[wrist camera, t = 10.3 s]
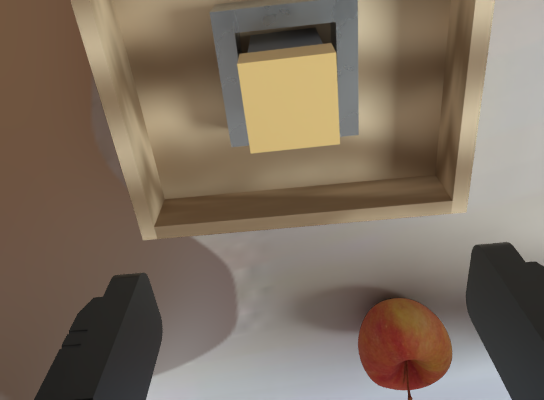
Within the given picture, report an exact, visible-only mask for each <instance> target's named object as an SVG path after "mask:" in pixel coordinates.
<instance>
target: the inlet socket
mask: <svg viewBox="0 0 544 400" xmlns="http://www.w3.org/2000/svg"><path fill="white" fill-rule="evenodd" d="M209 13H210V19H211V25H212V31H213V37H214V44H215V50H216V56H217V62H218V68H219V74H220V81H221V87H222V93H223V99H224V105H225V111H226V118H227V124H228V130H229V136H230V142H231V147H239V146H249V139H248V133H247V126H246V120H245V113H244V107H243V100H242V93H241V87H240V80H239V74H238V67H237V62H238V58H239V54H242V50H241V42H240V35H239V32H249V31H258V30H267V29H276V28H285V27H295V26H304V25H313V24H322V23H330V31H331V43H332V45H333V47H334V49H335V51H336V60H337V83H338V107H339V131H340V137H344V136H354V135H359V100H358V0H250V1H241V2H232V3H223V4H215V5H214V7H213V8H212V10H211V11H210V12H209Z"/></svg>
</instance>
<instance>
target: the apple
mask: <svg viewBox="0 0 544 400" xmlns="http://www.w3.org/2000/svg"><path fill="white" fill-rule="evenodd" d="M358 350H359V355H360V359H361V362H362V365H363V367H364V369H365V371H366V373H367V374H368V376H369V377H370V378H371V379H372V381H374V382H375V383H376V384H378V385H379V386H382V387H385V388H390V389H395V390H408V400H412V397H411V395H410V390H414V389H419V388H423V387H426V386H429V385H431V384H433V383H435V382H436V381H438V380H439V379H440V378H442V377H443V376H444V375H445V373H446V372H447V370H448V369H449V367H450V364H451V361H452V346H451V341H450V338H449V335H448V333H447V331H446V329H445V327H444V325H443V324H442V322H441V321H440V320H439V318H438V317H437V316H436V315H435V314H434V313H433V312H432V311H430V310H429V309H428V308H427V307H425V306H424V305H422V304H420V303H419V302H416V301H414V300H411V299H406V298H394V299H388V300H385V301H382V302H380V303H378V304H376V305H375V306H374V307H373V308H371V310H370V311H369V312H368V313H367V315H366V316H365V318H364V320H363V322H362V325H361V328H360V332H359V338H358Z"/></svg>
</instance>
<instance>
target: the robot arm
mask: <svg viewBox="0 0 544 400" xmlns="http://www.w3.org/2000/svg"><path fill="white" fill-rule="evenodd" d="M466 304H467V309H468V313H469V316H470V318H471V321H472V323H473V325H474V326H475V328H476V330H477V332H478V334H479V336H480V338H481V340H482V342H483V344H484V346H485V348H486V350H487V352H488V354H489V356H490V358H491V360H492V362H493V363H494V365H495V367H496V369H497V371H498V373H499V375H500V377H501V379H502V381H503V383H504V385H505V387H506V389H507V391H508V393H509V395H510V397H511V399H512V400H544V267H543V266H542V265H540V264H539V263H537V262H525V261H524V260H523V258H522V257H521V256H520V254H519V253H518V252H517V250H516V249H515V248H514V246H513V245H512V244H510V243H508V242H504V243H493V244H481V245H475V246H474V247H473V249H472V253H471V261H470V268H469V275H468V282H467V290H466ZM161 341H162V320H161V316H160V312H159V309H158V306H157V303H156V300H155V297H154V293H153V290H152V287H151V284H150V281H149V278H148V276H147V274H145V273H136V274H124V275H115V276H113V277H112V279H111V281H110V283H109V285H108V287H107V290H106V292H105V294H104V296H103V297H96V298H93V299H92V300H91V301H90V302H89V303H88V304H87V305H86V306H85V307H84V308H83V309H82V310H81V311H80V312H79V313H78V314H77V316H76V318H75V320H74V322H73V324H72V326H71V328H70V330H69V334H68V335H67V336H66V338H65V340H64V342H63V344H62V349H60V350H59V352H58V354H57V356H56V357H55V360H54V362H53V364H52V365H51V367H50V369H49V371H48V373H47V375H46V377H45V379H44V381H43V383H42V385H41V387H40V389H39V391H38V393H37V395H36V397H35V399H34V400H146V397H147V393H148V389H149V386H150V382H151V378H152V375H153V371H154V367H155V364H156V360H157V356H158V352H159V348H160V345H161Z"/></svg>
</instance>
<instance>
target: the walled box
mask: <svg viewBox="0 0 544 400" xmlns="http://www.w3.org/2000/svg"><path fill="white" fill-rule="evenodd" d="M70 1H71V4H72V7H73V11H74V14H75V17H76V21H77V24H78V27H79V30H80V34H81V37H82V40H83V44H84V47H85V50H86V54H87V57H88V60H89V63H90V67H91V70H92V73H93V77H94V80H95V83H96V87H97V90H98V93H99V96H100V100H101V103H102V106H103V110H104V113H105V116H106V119H107V123H108V126H109V129H110V133H111V136H112V139H113V143H114V146H115V149H116V152H117V156H118V159H119V162H120V166H121V169H122V172H123V175H124V179H125V182H126V185H127V189H128V192H129V195H130V198H131V202H132V205H133V208H134V212H135V215H136V218H137V222H138V225H139V228H140V231H141V235H142V238H143V240H151V239H163V238H175V237H187V236H199V235H210V234H222V233H233V232H245V231H256V230H268V229H279V228H291V227H303V226H314V225H326V224H337V223H349V222H360V221H372V220H384V219H395V218H407V217H418V216H430V215H441V214H453V213H464V212H466V211H467V204H468V197H469V189H470V182H471V174H472V167H473V159H474V152H475V145H476V137H477V130H478V122H479V115H480V108H481V100H482V93H483V85H484V78H485V70H486V63H487V56H488V48H489V41H490V33H491V26H492V19H493V11H494V4H495V0H358V100H359V135H354V136H344V137H340V144H337V145H328V146H318V147H309V148H299V149H290V150H280V151H271V152H261V153H252V154H251V153H250V146H239V147H231V142H230V136H229V130H228V124H227V118H226V111H225V105H224V99H223V93H222V87H221V81H220V74H219V68H218V62H217V56H216V50H215V44H214V37H213V31H212V25H211V19H210V13H209V12H210V11H211V10H212V8H213V7H214V5H215V4H223V3H232V2H241V1H250V0H70ZM314 27H316V30H317V32H318V34H319V36H320V39H321V41H322V43H323V44H327V43H331V31H330V23H322V24H313V25H304V26H295V27H285V28H276V29H267V30H258V31H249V32H239V35H240V42H241V50H242V53H248V48H249V42H250V37H251V35H256V34H265V33H273V32H281V31H289V30H298V29H306V28H314Z"/></svg>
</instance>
